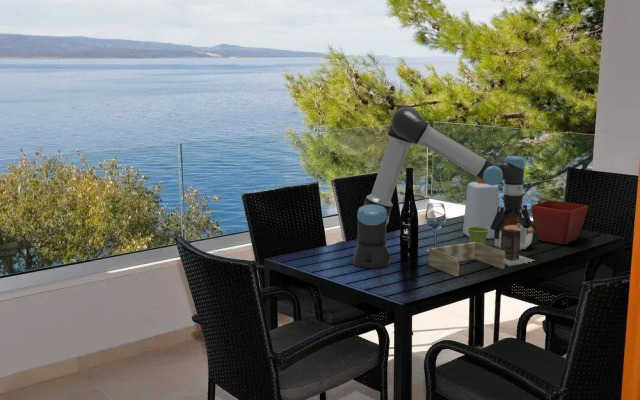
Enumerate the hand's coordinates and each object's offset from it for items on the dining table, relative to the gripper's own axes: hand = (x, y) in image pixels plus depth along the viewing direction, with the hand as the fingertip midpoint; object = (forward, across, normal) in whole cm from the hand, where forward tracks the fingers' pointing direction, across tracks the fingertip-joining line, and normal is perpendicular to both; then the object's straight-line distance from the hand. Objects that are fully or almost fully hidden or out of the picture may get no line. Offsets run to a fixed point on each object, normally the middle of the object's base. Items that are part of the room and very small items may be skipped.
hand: (510, 244), depth 305 cm
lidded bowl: (+7, +17, +14) cm, 23 cm away
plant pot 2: (+7, +42, +15) cm, 45 cm away
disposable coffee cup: (+7, +39, +44) cm, 59 cm away
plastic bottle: (+7, +18, +40) cm, 44 cm away
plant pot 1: (+7, +1, +22) cm, 23 cm away
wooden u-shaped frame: (+7, -23, 0) cm, 24 cm away
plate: (+7, 0, 0) cm, 7 cm away
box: (+6, 0, 0) cm, 6 cm away
